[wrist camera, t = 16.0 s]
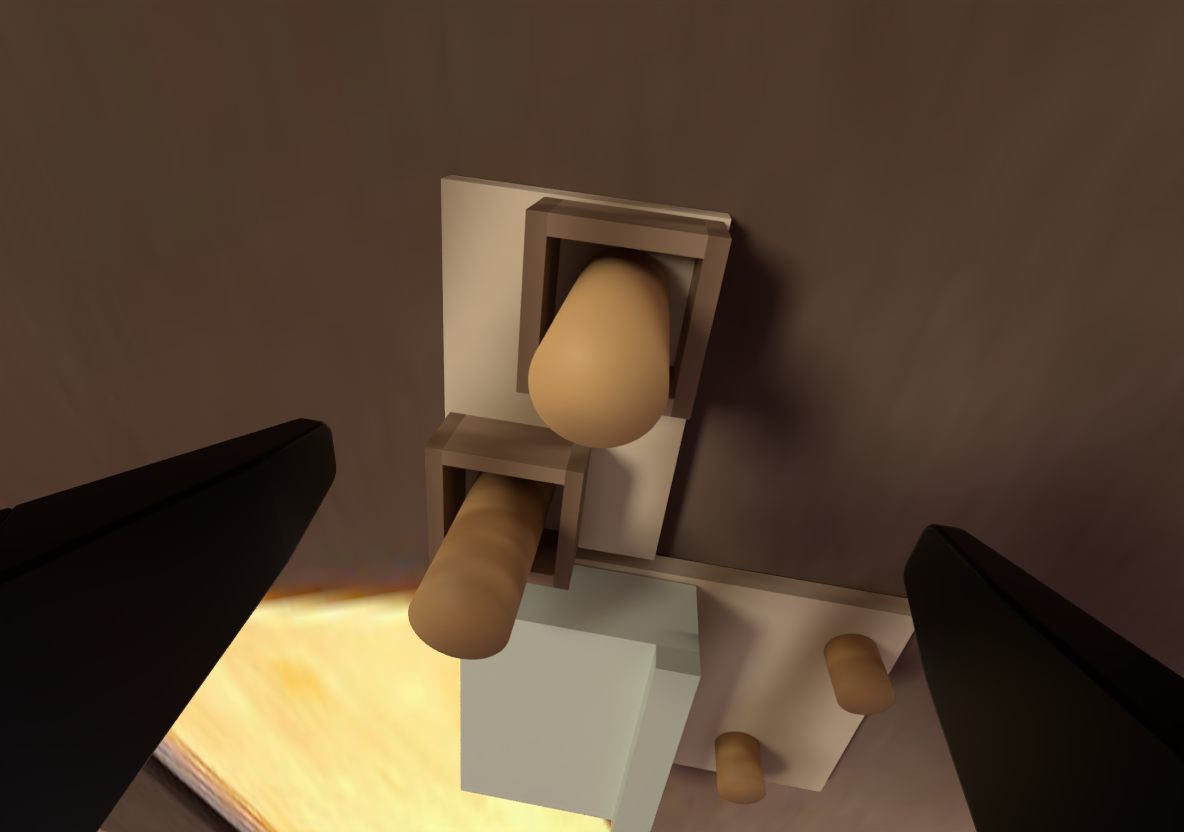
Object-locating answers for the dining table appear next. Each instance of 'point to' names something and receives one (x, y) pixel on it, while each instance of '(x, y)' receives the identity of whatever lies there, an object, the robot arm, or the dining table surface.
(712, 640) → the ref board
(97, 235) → the dining table surface
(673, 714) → the cover
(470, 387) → the board
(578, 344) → the peg
